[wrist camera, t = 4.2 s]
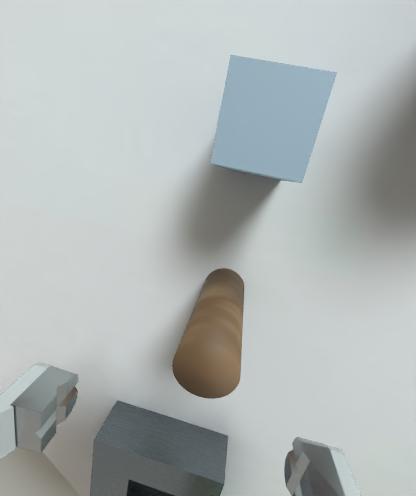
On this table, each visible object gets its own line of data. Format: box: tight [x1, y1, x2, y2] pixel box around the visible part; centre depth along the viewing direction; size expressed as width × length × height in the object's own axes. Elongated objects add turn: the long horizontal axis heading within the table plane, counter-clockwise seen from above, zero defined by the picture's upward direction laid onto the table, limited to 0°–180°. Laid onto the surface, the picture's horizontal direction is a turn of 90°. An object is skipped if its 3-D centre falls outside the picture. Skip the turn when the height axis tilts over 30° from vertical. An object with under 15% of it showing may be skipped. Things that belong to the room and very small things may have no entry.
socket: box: [90, 401, 228, 496], centre depth 25 cm, size 12×12×4 cm
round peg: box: [172, 269, 244, 398], centre depth 15 cm, size 3×3×9 cm
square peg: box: [210, 55, 337, 183], centre depth 13 cm, size 4×4×7 cm
